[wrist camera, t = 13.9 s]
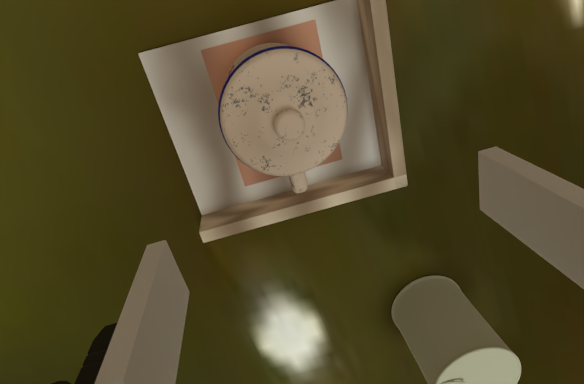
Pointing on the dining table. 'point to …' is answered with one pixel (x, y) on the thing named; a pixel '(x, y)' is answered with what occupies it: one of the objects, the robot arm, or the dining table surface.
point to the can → (451, 335)
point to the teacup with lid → (282, 111)
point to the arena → (321, 179)
